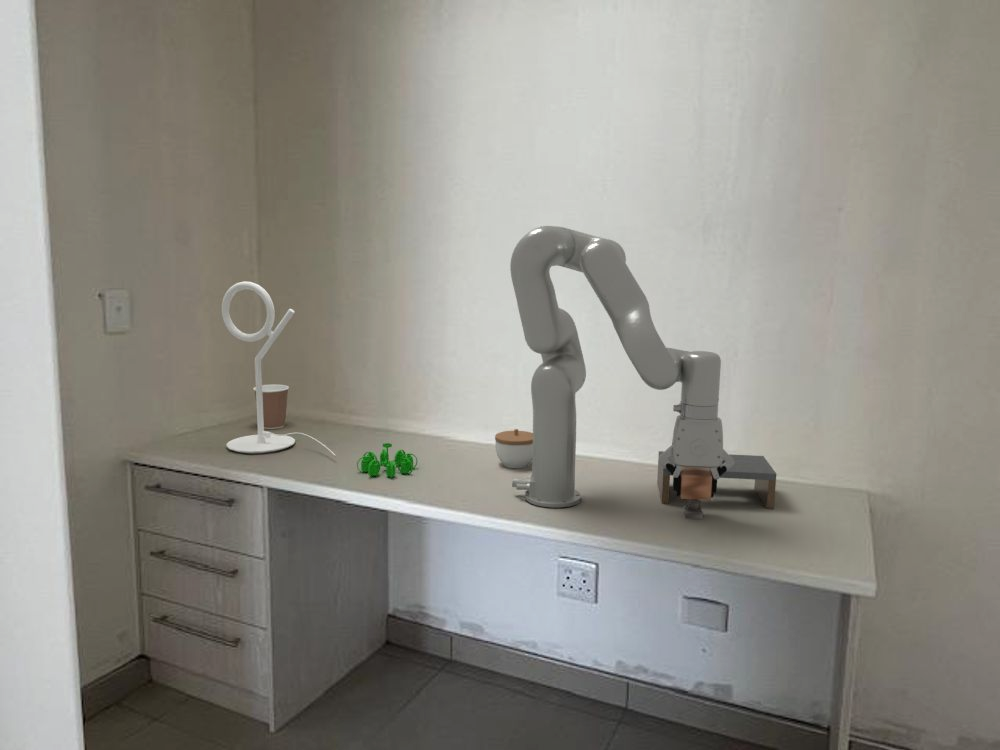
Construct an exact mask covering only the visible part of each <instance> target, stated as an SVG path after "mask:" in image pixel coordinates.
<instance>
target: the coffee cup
mask: <svg viewBox="0 0 1000 750" xmlns="http://www.w3.org/2000/svg"><path fill="white" fill-rule="evenodd" d="M289 388H290V387H289V385H285V384H262V396H263V420H264V430H276V429H282V428H284V427H285V424H286V418H287V417H286V415H287V407H288V406H287V405H288V395H289V394H288V393H289V392H288V389H289ZM252 389H253V390H252V391H254V396H255V397H254V398H255V399H256V386H254V387H253V388H252Z"/></svg>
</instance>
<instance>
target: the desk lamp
mask: <svg viewBox="0 0 1000 750" xmlns="http://www.w3.org/2000/svg"><path fill="white" fill-rule="evenodd" d="M243 290H250V291H252V292H255V293H256V294H257V295H259V296H260V298H261V299H262V301H263V303H264V305H265V310H266V318H265V323H264V324H263V326H262V328H261V329H260V330H259V331H256V332H255V333H245V332H243V331H241V330H240V329H239V328H238V327H236V325H235V324H234V322H233V320H232V318H231V315H230V305H231V302H232V299H233V297H234V296H235V295H236V294H237V293H238V292H240V291H243ZM295 313H296V312H295V310H294V309H292V308H289V309H288V310H287V311H286V313H285V314H284V315H283V317H282V319H281V320H280V321H279V323H278V325H277V326H276V327H275V328H274V330H272V328H273V326H274V322H275V319H276V317H275V315H276V313H275V305H274V302H273V300H272V298H271V295H270V294H269V293H268V292H267V290H266V289H265V288H264V287H262V286H261V285H260V284H258V283H255V282H252V281H247V280H246V281H245V280H244V281H241V282H236V283H235V284H233V285H232V286H230V287H229V288H228V289H227V291H226V292H225V293H224V296H223V297H222V302H221V317H222V320H223V323H224V325H225V328H226V329H227V330H228V331H229V332H230V334H231V335H232V336H234V337H235V338H236V339H238V340H240V341H244V342H248V343H249V342H250V343H252V342H258V341H260V340H261V339H263V338H265V337H266V336H267V337H268V339H267V340H266V342H264V344H263V346H262V347H261V348H260V350H259V351H258V353H257V354H256V356H255V358H254V374H255V378H254V379H255V387H256V398H255V403H256V416H257V417H256V421H257V424H256V425H257V434H252V435H244V436H240V437H237V438H233V439H232V440H229V441H228V442H227V443H226V445H225V446H226V448H227V449H228V450H230V451H234V452H237V453H242V454H251V455H252V454H266V453H267V454H268V453H274V452H275V453H276V452H278V451H282V450H285V449H287V448H289V447H291V446H293V445H295V443H296V439H295V438H293V436H289V435H296V434H297V435H298V434H299V435H302V436H303V435H304V436H306V437H308V438H311V439H313V440H314V441H316V442H317V443H319V444H320V445H321V446H323V447H324V448H325V449H327V450H328V451H329V453H331V454H332V455H333V456H334V457H335V458H336V457H337V455H336V454H335V453H334V452H333V451H332V450H331V449H330V448H329V447H327V445H325V444H323V443H322V442H321V441H319V440H318V439H316V438H315V437H312V436H311V435H308V434H305V433H303V432H297V431H296V432H290V433H285V434H276V433H273V432H271V431H268V430H267V431H266V430H265V429H264V420H263V396H262V385H263V380H262V379H263V376H262V375H263V374H262V360H263V358H264V357H265V355H266V353H267V352H268V351H269V349H270V348H271V347H272V345H274V342H275V341H276V340H277V338H278V337H279V336H280V334H281V333H282V331H283V330H284V328H285V327H286V326H287V324H288V323H289V322H290V320H291V318H292V317H293V315H294V314H295Z"/></svg>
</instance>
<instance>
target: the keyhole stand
mask: <svg viewBox="0 0 1000 750" xmlns="http://www.w3.org/2000/svg"><path fill="white" fill-rule="evenodd" d="M663 452H664V451H658V457H659V456H660V455H661V454H662V453H663ZM728 454H729V453H728ZM729 455H730V457H731V458H732V459H733V460H734V461H735V464H734V465H732V466H731V467H730V468H729V469H727V471H726V472H725V473H723V474H722V475H721V476H720V477H719V479H737V480H738V479H739V480H743V479H744V480H754V487H753V489H754V490H755V492H756V494H757V495H758V496H759V498H760V500H761V502H762V504H763V505H764V507H765V509H766V510H775V499H776V498H775V497H776V495H775V494H776V488H777V487H776V485H777V473H776V471H775V470H774V469H773V467H772V465H771V464H770V463H769V462H768V460H767V459H766V458H765V456H764V455H750V454H749V455H748V454H732V453H731V454H729ZM658 457H657V478H656V479H657V480H656V484H657V490H658V494H659V497H660V501H661V502H660V503H661V504H669V502H670V481H671V478H670V477H671V476H673V475H672V474H671V473H670V472H669V471H668V469H667V468H666V467H665V466H664V465H663V464H662V463H661V462H660V461H659V458H658ZM667 460H668V461H669V462H670V463H671V464H672V465H673V466H674V465H675V464H674V462H673V460H672V455H671V456H670V457H668V458H667ZM724 462H725V459H724V458H723V461H722V464H723V463H724ZM690 468H705V467H690ZM716 468H718V467H716ZM708 469H709V471H710V473H711V470H710V468H708Z"/></svg>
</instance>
